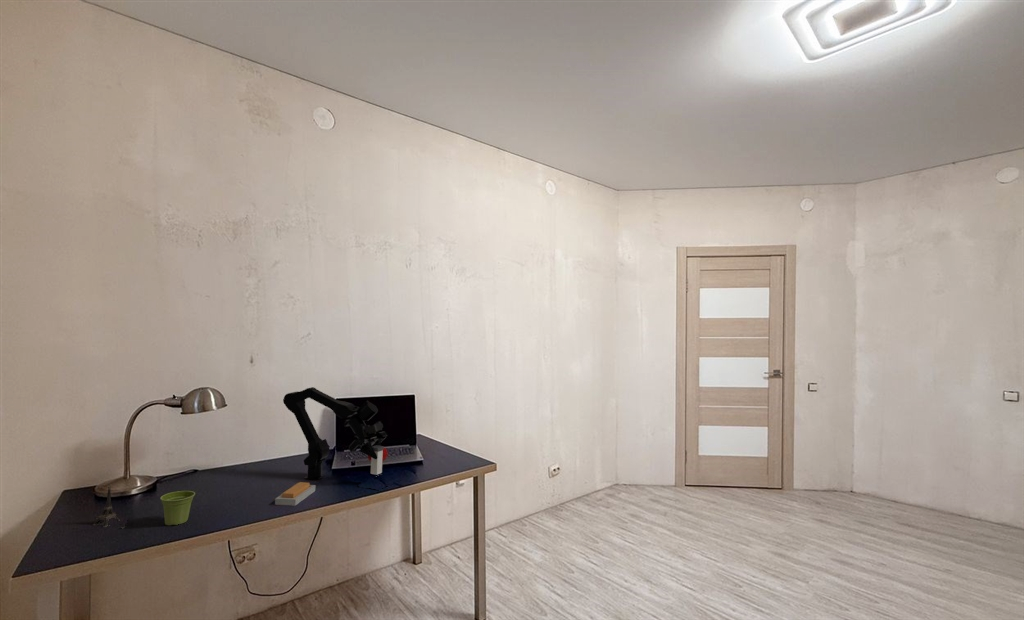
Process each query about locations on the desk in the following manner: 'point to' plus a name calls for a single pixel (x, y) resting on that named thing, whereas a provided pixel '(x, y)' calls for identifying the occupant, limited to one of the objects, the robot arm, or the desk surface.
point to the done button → (295, 490)
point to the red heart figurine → (383, 455)
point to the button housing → (297, 499)
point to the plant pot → (177, 506)
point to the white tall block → (377, 460)
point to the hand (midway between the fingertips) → (379, 457)
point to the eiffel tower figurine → (107, 512)
